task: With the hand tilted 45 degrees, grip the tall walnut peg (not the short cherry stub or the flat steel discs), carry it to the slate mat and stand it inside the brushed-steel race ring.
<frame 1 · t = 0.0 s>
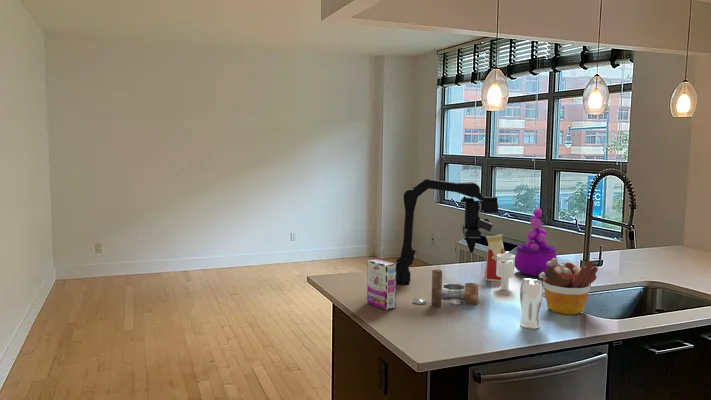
hand: (470, 250, 231), 15 cm above the counter, tool pointing down, fingers open, 9 cm apart
disc b: (419, 303, 209), on the counter
beer glass: (529, 326, 184), on the counter
decorative plant: (535, 274, 251), on the counter
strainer: (504, 289, 227), on the counter
race: (453, 294, 219), on the counter
disc a: (455, 303, 208), on the counter
candy bar box: (381, 306, 205), on the counter
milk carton: (494, 279, 243), on the counter
bucket of meat: (566, 311, 200), on the counter
cherry stub: (471, 302, 208), on the counter
walnut peg: (436, 305, 205), on the counter
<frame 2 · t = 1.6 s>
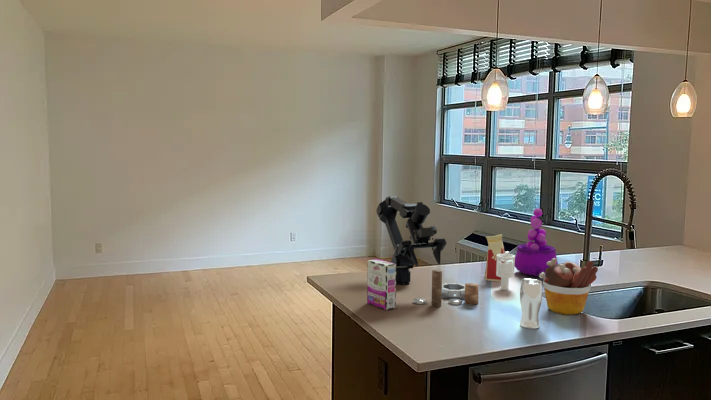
hand: (428, 264, 211), 13 cm above the counter, tool tilted 45°, fingers open, 9 cm apart
nothing on the counter moved.
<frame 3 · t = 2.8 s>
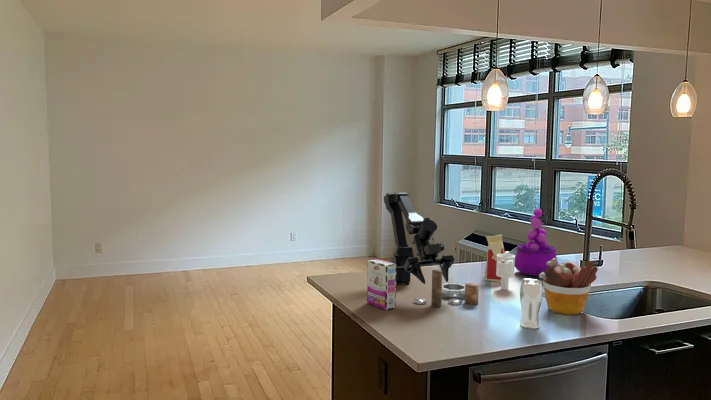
hand: (436, 282, 205), 8 cm above the counter, tool tilted 45°, fingers open, 9 cm apart
nothing on the counter moved.
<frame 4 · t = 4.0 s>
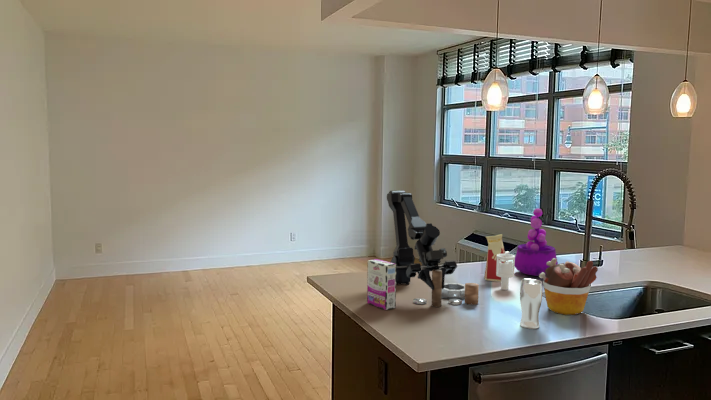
hand: (438, 288, 203), 7 cm above the counter, tool tilted 45°, fingers closed on walnut peg, 4 cm apart
walnut peg: (436, 305, 205), on the counter, touching gripper
everything else where it was.
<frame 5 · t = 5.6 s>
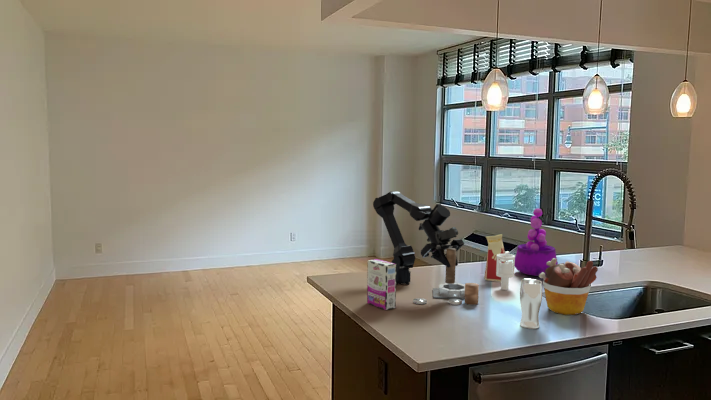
hand: (453, 266, 211), 13 cm above the counter, tool tilted 45°, fingers closed on walnut peg, 4 cm apart
walnut peg: (450, 282, 213), point 6 cm above the counter, touching gripper
everything else where it was.
when the fingers open (8 cm above the counter, at t = 7.2 s): walnut peg stays where it is, resting on race.
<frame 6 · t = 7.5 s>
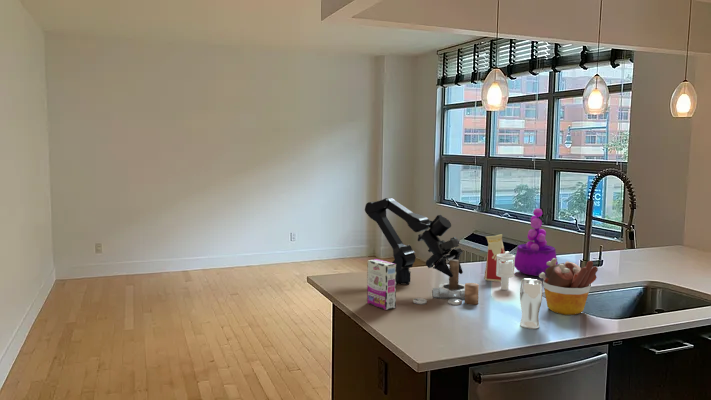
hand: (457, 275, 217), 8 cm above the counter, tool tilted 45°, fingers open, 7 cm apart
walnut peg: (453, 293, 219), point 1 cm above the counter, touching race
everything else where it was.
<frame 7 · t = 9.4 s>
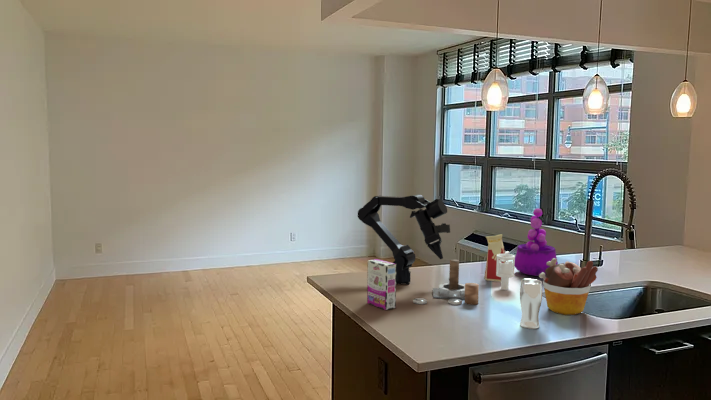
hand: (441, 258, 225), 13 cm above the counter, tool tilted 30°, fingers open, 9 cm apart
nothing on the counter moved.
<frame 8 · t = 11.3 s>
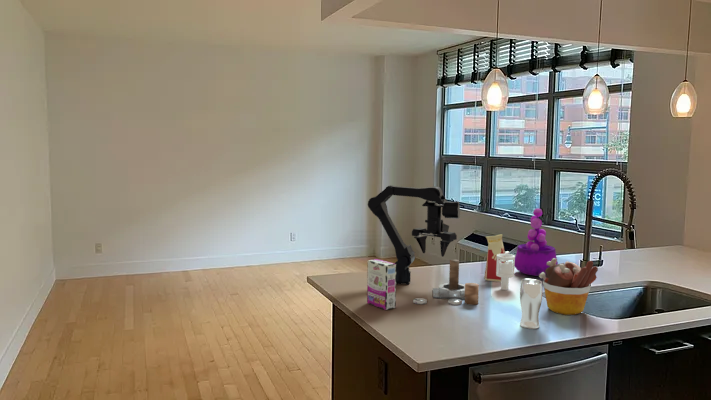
hand: (433, 254, 230), 13 cm above the counter, tool pointing down, fingers open, 9 cm apart
nothing on the counter moved.
at the end: walnut peg 0.0 cm from the race (horizontally); walnut peg tilted 0°; walnut peg point 0.6 cm above the counter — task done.
